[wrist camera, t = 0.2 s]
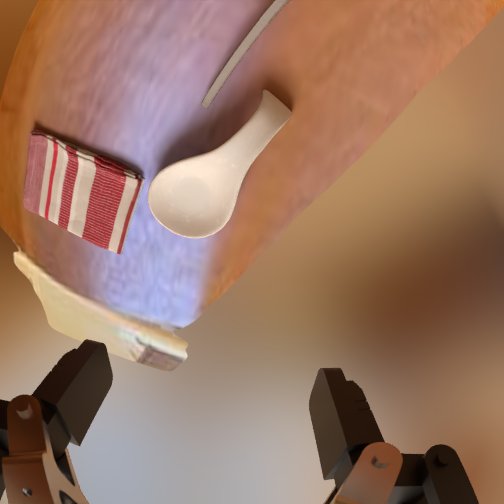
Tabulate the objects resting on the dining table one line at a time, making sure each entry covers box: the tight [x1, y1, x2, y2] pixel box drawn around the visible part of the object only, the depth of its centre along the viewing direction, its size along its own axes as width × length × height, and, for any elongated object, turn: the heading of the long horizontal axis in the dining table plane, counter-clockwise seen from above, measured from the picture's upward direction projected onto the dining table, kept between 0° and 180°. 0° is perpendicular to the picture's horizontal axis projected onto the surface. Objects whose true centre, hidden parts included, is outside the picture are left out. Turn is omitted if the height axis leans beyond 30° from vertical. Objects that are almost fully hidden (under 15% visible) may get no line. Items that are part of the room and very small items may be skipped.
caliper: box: [201, 0, 291, 109], centre depth 24 cm, size 20×1×6 cm, turn 146°
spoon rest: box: [148, 90, 292, 238], centre depth 33 cm, size 24×12×7 cm, turn 139°
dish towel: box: [24, 129, 145, 254], centre depth 38 cm, size 17×23×3 cm
